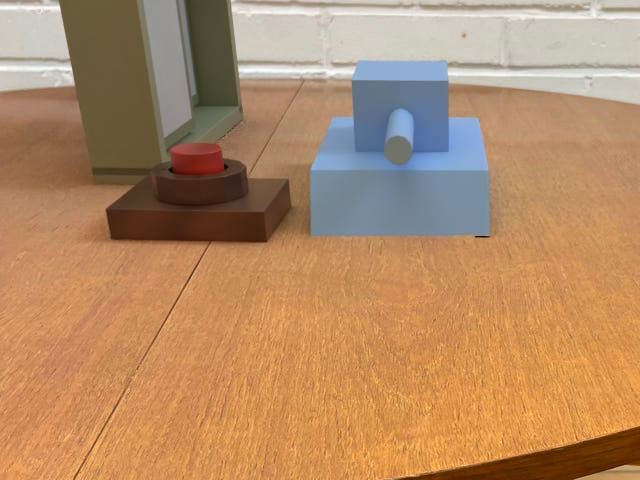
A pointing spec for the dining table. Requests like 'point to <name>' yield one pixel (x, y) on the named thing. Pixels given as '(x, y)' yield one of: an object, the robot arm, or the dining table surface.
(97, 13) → the window frame
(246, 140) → the dining table surface
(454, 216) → the toy tank
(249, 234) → the button block
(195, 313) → the dining table surface
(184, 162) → the button
